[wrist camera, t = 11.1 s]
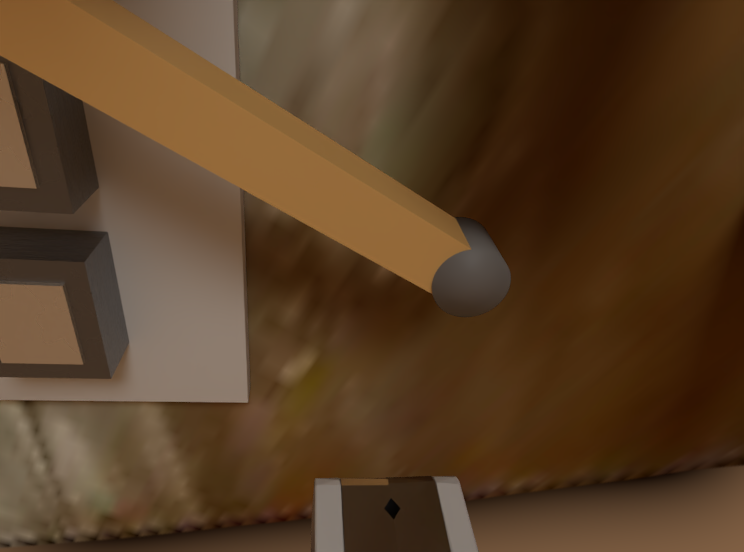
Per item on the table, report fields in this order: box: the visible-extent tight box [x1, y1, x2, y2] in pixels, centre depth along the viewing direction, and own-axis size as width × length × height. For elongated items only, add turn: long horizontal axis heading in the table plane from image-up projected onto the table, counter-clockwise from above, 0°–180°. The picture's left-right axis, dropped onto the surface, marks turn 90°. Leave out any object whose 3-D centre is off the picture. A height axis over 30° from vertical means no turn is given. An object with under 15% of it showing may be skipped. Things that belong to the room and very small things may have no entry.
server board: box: [0, 0, 250, 403], centre depth 19 cm, size 24×16×4 cm, turn 174°
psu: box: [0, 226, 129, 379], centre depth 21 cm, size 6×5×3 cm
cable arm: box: [0, 0, 511, 317], centre depth 14 cm, size 22×4×2 cm, turn 55°
